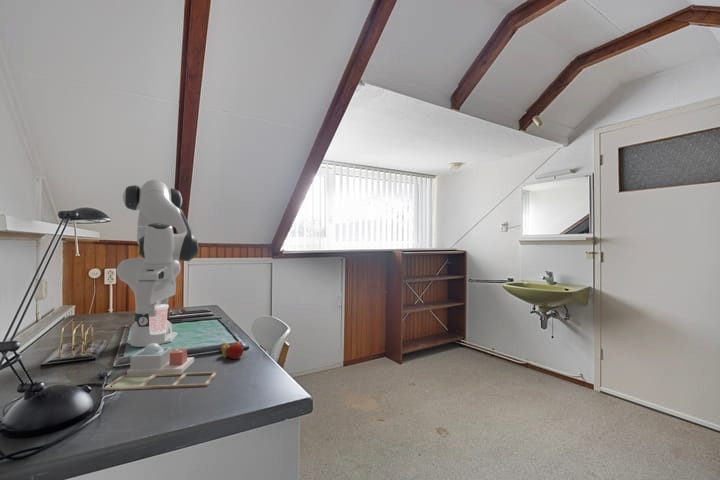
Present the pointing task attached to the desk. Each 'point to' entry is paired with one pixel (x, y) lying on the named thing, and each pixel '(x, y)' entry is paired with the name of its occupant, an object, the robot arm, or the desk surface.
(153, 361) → the dome housing
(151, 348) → the dome
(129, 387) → the wooden window frame
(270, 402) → the desk surface
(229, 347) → the kendama
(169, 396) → the desk surface
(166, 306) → the beverage cup
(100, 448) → the desk surface
